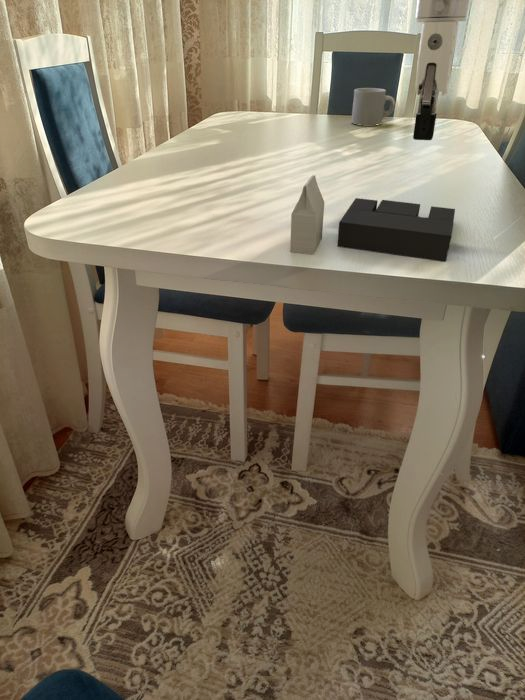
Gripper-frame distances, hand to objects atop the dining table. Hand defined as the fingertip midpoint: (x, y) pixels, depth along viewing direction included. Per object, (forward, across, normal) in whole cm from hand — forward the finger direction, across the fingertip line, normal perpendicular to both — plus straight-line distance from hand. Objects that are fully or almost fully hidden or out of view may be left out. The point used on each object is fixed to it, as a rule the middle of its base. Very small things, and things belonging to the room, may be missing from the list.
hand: (422, 138), depth 85 cm
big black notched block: (+12, -15, +1) cm, 20 cm away
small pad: (+12, -12, +2) cm, 18 cm away
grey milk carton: (+12, -23, +14) cm, 30 cm away
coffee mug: (+11, +84, +22) cm, 87 cm away
